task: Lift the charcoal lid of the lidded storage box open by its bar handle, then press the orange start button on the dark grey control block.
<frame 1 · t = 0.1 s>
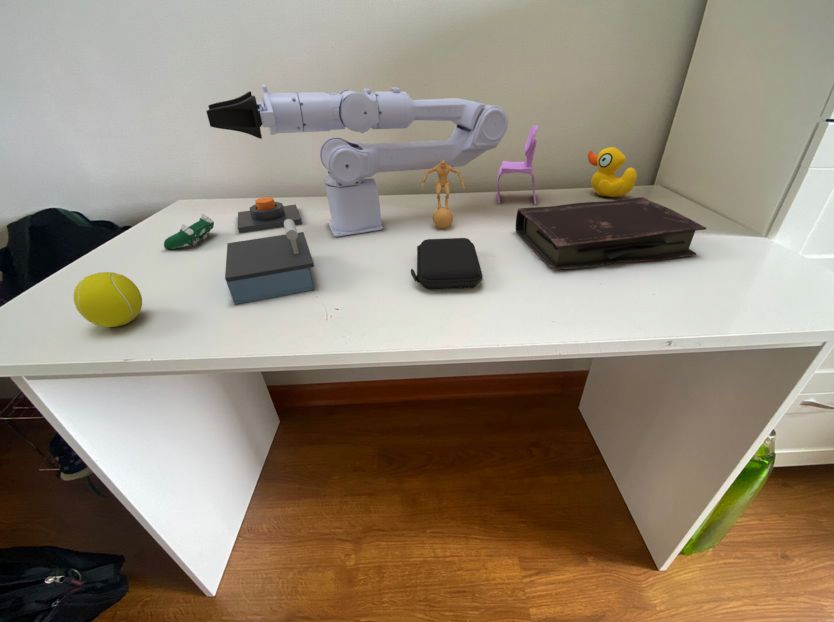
hand: (209, 115, 65), 21 cm above the table, tool horizontal, fingers open, 7 cm apart
lidded storage box: (272, 278, 66), on the table
lid: (265, 242, 63), point 6 cm above the table, hinge at 0.0°
start button: (265, 204, 85), point 3 cm above the table, slide at 0.1 cm
tennis ball: (122, 323, 57), on the table
carrying case: (444, 272, 67), on the table
figurine: (442, 226, 83), on the table, touching arm
control block: (270, 221, 87), on the table
green toy race car: (195, 243, 79), on the table
diary: (599, 245, 74), on the table
duckling: (606, 196, 95), on the table
toy chair: (515, 200, 95), on the table
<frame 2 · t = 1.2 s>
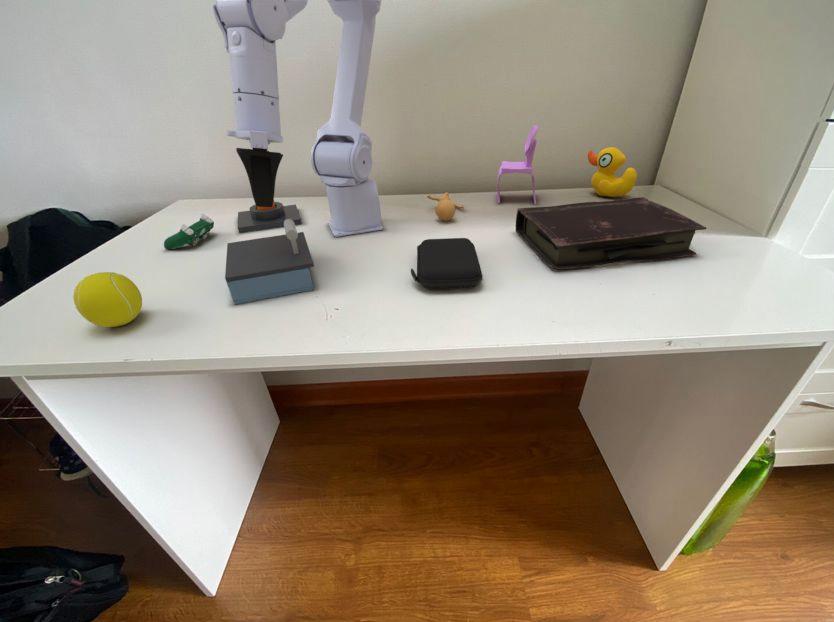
hand: (264, 204, 61), 11 cm above the table, tool tilted 15°, fingers open, 7 cm apart
figurine: (443, 220, 83), point 1 cm above the table
everything else where it was.
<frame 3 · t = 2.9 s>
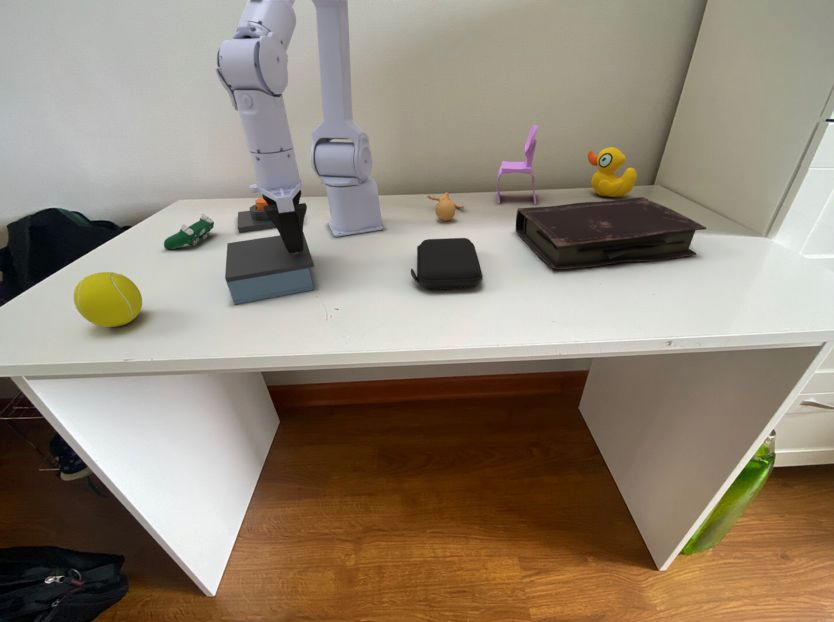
hand: (294, 244, 65), 5 cm above the table, tool pointing down, fingers closed on lid, 5 cm apart
lid: (265, 242, 63), point 6 cm above the table, hinge at 0.0°, touching gripper
everything else where it was.
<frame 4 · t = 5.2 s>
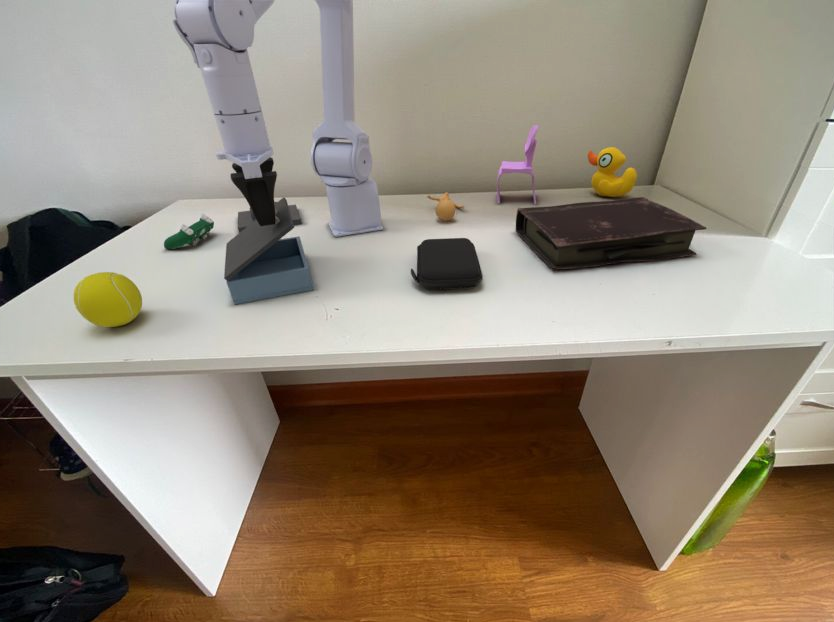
hand: (266, 218, 61), 9 cm above the table, tool pointing down, fingers closed on lid, 5 cm apart
lid: (247, 226, 61), point 9 cm above the table, hinge at 30.2°, touching gripper
everything else where it was.
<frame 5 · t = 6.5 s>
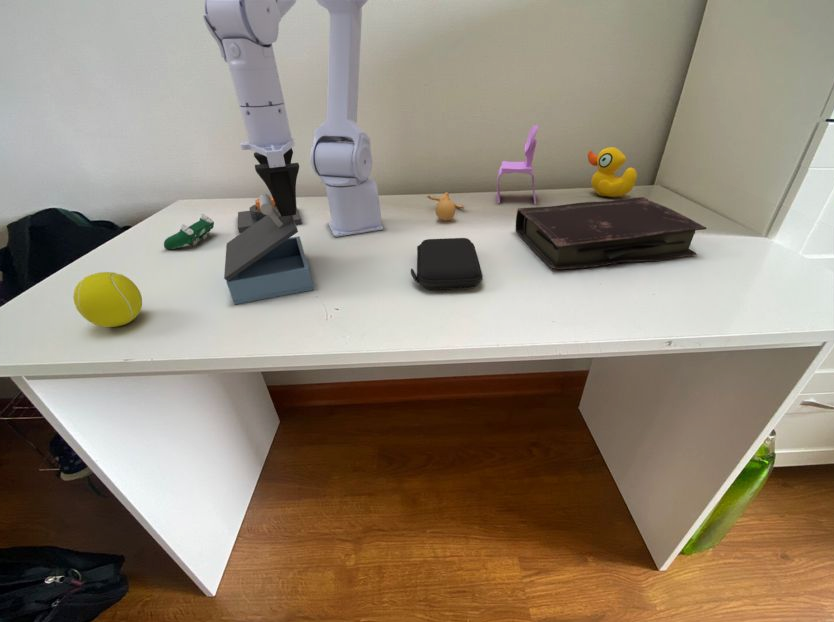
hand: (286, 207, 64), 10 cm above the table, tool pointing down, fingers open, 7 cm apart
lid: (250, 227, 61), point 8 cm above the table, hinge at 26.6°
everything else where it was.
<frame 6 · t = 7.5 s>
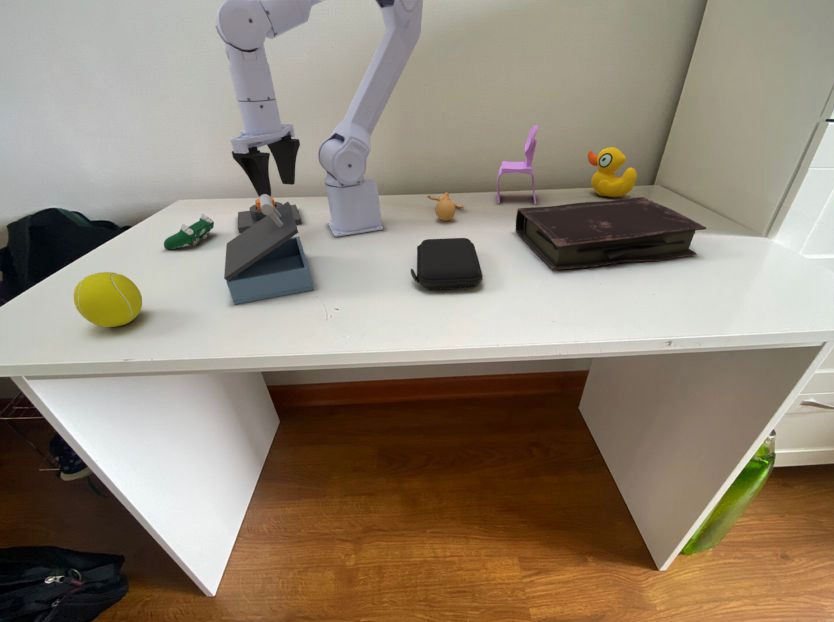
hand: (277, 189, 73), 9 cm above the table, tool pointing down, fingers open, 7 cm apart
lid: (250, 228, 61), point 8 cm above the table, hinge at 26.1°
everything else where it was.
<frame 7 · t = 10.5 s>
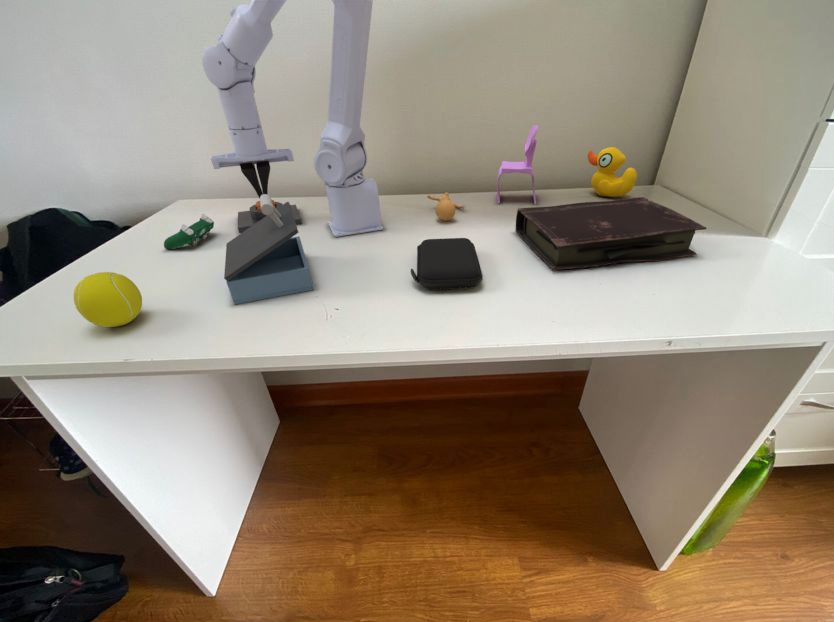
hand: (264, 202, 85), 4 cm above the table, tool pointing down, fingers closed, pressing on start button
start button: (266, 206, 85), point 3 cm above the table, slide at -0.3 cm, touching gripper
everything else where it was.
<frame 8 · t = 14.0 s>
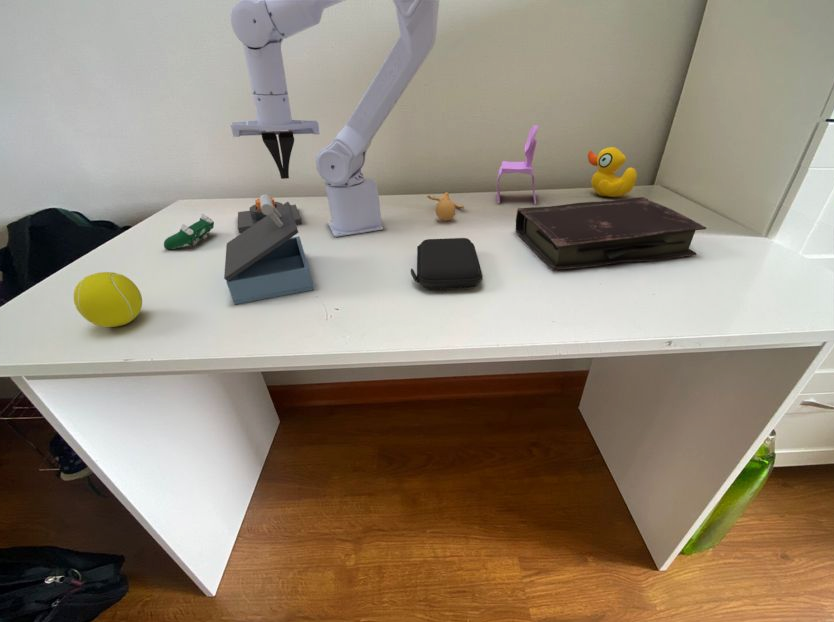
hand: (284, 177, 79), 9 cm above the table, tool pointing down, fingers closed
start button: (265, 204, 85), point 3 cm above the table, slide at 0.1 cm
everything else where it was.
at the end: lid at +26° (first picture: +0°); start button pushed in 1.2 cm at the most during the clip, back to where it started at the end; start button slide at 0.1 cm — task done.
